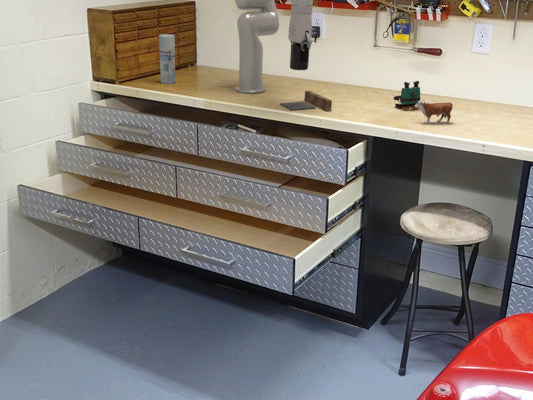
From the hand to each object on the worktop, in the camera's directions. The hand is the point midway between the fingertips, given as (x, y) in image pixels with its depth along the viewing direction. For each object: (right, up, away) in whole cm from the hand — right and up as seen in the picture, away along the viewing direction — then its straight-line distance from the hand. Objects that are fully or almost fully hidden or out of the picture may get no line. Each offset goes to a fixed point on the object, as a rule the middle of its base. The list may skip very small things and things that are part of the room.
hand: (299, 59), depth 233 cm
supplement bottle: (0, -3, +1) cm, 4 cm away
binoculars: (+41, -16, +9) cm, 45 cm away
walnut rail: (+7, -16, +8) cm, 19 cm away
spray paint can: (-55, -1, +43) cm, 69 cm away
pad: (0, -16, +6) cm, 17 cm away
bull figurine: (+46, -25, -11) cm, 53 cm away
